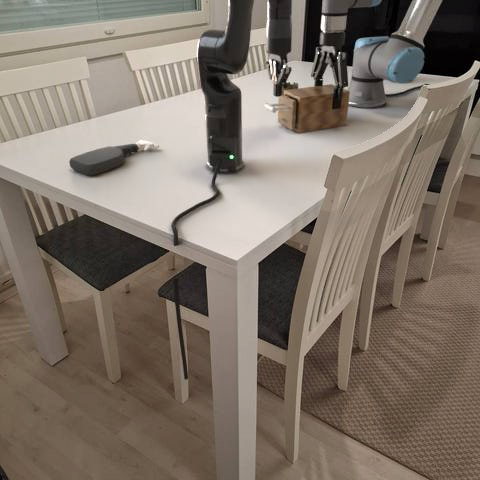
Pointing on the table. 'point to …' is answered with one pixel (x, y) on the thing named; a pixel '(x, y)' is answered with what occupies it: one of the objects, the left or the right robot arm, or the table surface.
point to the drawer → (286, 111)
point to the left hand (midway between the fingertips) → (277, 95)
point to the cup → (289, 86)
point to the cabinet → (319, 108)
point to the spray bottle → (106, 157)
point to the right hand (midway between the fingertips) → (326, 104)
